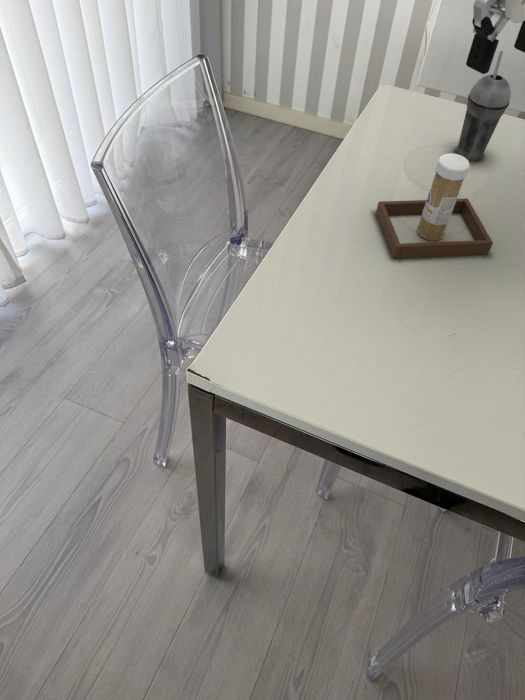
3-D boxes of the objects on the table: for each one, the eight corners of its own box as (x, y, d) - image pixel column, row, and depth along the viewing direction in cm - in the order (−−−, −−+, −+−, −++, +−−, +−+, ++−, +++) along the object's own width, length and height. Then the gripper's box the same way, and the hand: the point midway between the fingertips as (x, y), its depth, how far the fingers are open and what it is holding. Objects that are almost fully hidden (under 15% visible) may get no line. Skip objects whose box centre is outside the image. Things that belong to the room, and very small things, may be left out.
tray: (462, 213, 98) (467, 198, 96) (486, 257, 91) (493, 242, 89) (374, 216, 97) (378, 201, 94) (392, 262, 89) (396, 246, 87)
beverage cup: (495, 161, 109) (538, 53, 94) (469, 172, 107) (509, 63, 91) (466, 143, 113) (503, 37, 98) (441, 153, 110) (475, 46, 95)
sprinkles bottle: (412, 225, 95) (434, 152, 84) (438, 223, 95) (463, 151, 85) (421, 243, 92) (446, 170, 81) (448, 241, 92) (475, 168, 82)
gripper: (538, -85, 55) (480, 89, 68) (634, -107, 62) (565, 55, 75) (478, -104, 59) (434, 65, 72) (575, -122, 66) (518, 35, 79)
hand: (501, 60), depth 74 cm, fingers open, 9 cm apart
